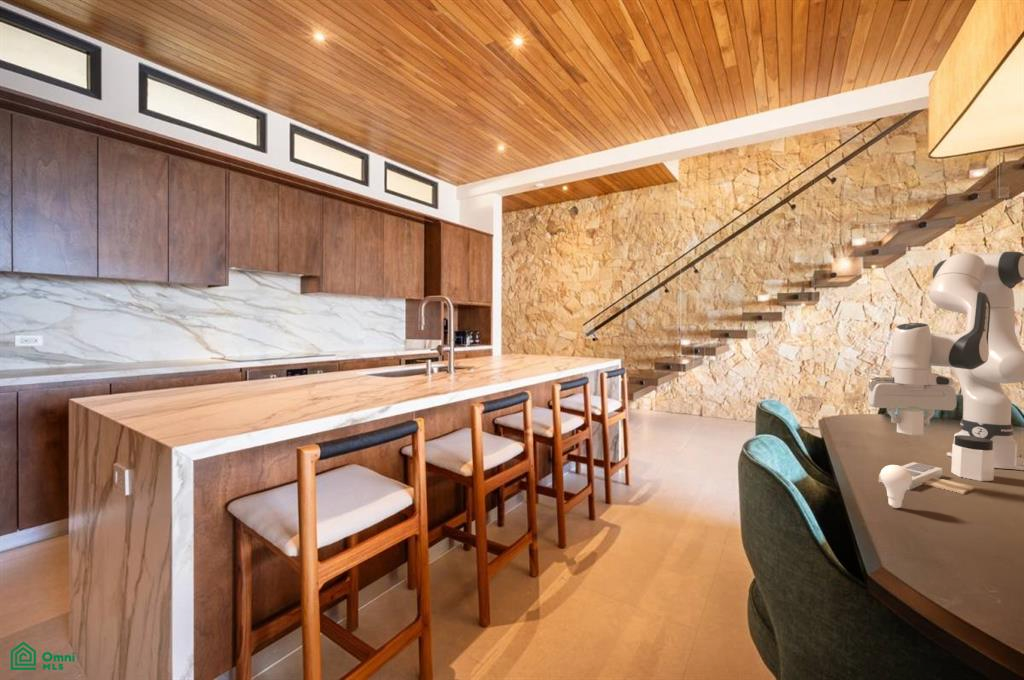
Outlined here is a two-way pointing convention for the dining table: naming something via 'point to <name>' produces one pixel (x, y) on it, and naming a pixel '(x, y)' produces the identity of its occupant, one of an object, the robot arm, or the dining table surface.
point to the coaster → (949, 485)
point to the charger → (911, 421)
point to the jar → (973, 458)
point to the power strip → (920, 473)
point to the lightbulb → (895, 483)
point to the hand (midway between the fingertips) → (910, 423)
